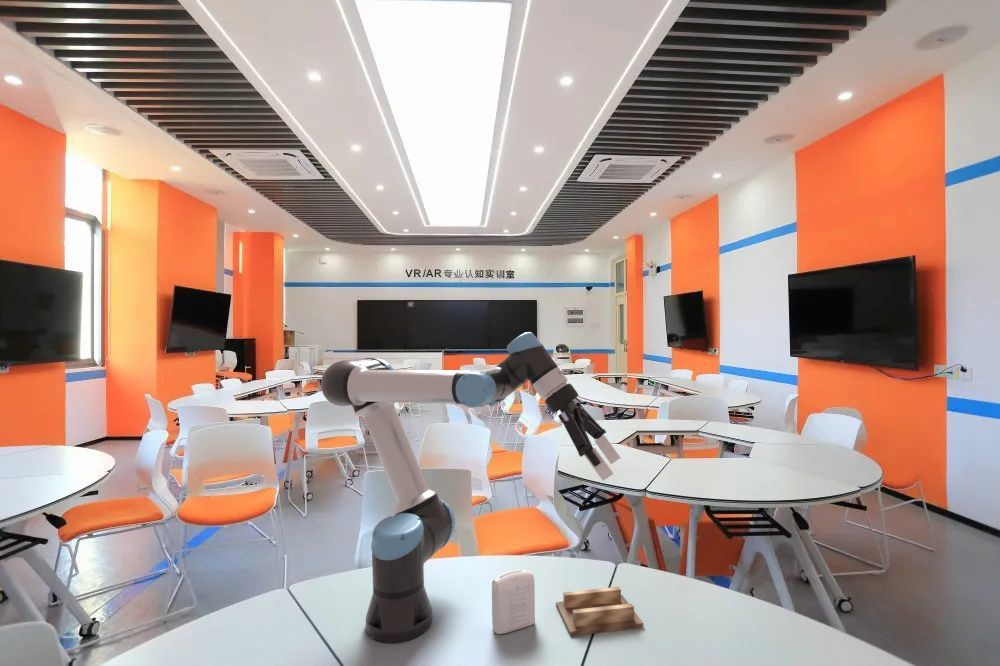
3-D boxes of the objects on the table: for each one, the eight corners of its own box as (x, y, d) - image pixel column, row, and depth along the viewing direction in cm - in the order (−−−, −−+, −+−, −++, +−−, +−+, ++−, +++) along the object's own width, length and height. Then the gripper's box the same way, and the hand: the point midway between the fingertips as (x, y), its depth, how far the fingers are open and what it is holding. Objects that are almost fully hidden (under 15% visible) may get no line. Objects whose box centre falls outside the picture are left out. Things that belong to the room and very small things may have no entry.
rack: (570, 636, 107) (569, 617, 107) (556, 606, 119) (555, 589, 119) (643, 627, 109) (643, 609, 109) (622, 599, 121) (621, 583, 121)
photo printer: (528, 615, 115) (527, 562, 115) (538, 624, 112) (536, 570, 112) (489, 627, 111) (488, 573, 111) (497, 637, 107) (496, 581, 107)
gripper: (556, 387, 101) (619, 475, 97) (579, 376, 124) (631, 447, 120) (528, 408, 103) (589, 494, 99) (556, 393, 126) (606, 463, 122)
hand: (612, 468), depth 109 cm, fingers open, 13 cm apart
